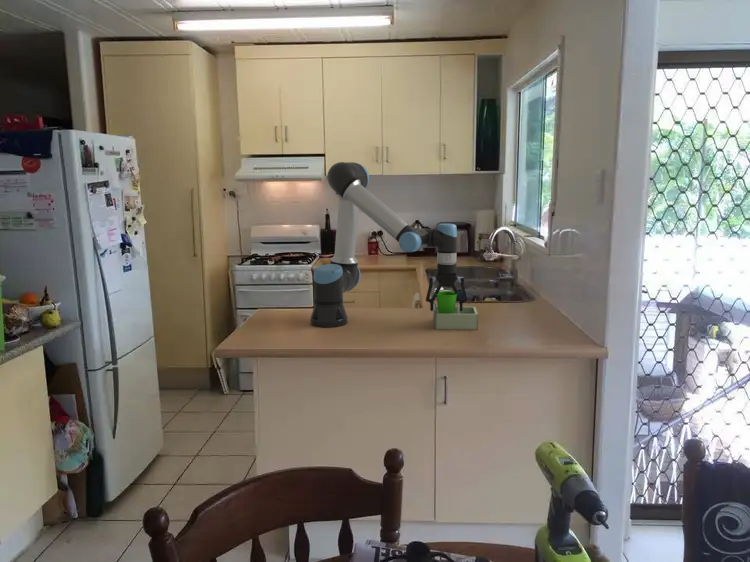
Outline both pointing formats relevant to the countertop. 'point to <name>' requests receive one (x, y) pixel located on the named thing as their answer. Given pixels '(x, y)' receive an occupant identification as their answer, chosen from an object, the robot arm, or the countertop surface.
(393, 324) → the countertop surface
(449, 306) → the cup
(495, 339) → the countertop surface
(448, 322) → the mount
